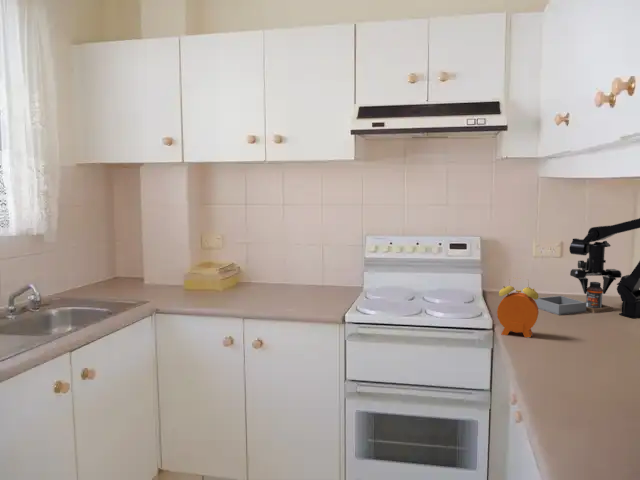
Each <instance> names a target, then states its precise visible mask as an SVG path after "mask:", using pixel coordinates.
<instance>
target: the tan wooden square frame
mask: <svg viewBox="0 0 640 480" xmlns="http://www.w3.org/2000/svg"><path fill="white" fill-rule="evenodd" d="M612 311H614V307H613V306H610V305H607V304H603V303H602V308H596V309H593V308H590V307H586V312H590V313H593V314H596V313H604V312H612Z"/></svg>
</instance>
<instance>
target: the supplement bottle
mask: <svg viewBox="0 0 640 480" xmlns="http://www.w3.org/2000/svg"><path fill="white" fill-rule="evenodd" d="M603 295H604V294H603V287H601V282H599V281H598V282H597V281H590V282H589V286H587V293H586V297H585V298H586V301H585V302H586V303H587V305H586V307H590V308H593V309H596V308H602V304H603Z"/></svg>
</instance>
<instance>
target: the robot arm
mask: <svg viewBox="0 0 640 480" xmlns="http://www.w3.org/2000/svg"><path fill="white" fill-rule="evenodd" d="M637 229H638V230H639V229H640V217H639V218H635V219H632V220H628V221H624V222H620V223H615V224H613V225H599V226H593V227H590V228H589V230H588V231H587V232H588V233H587V234H586V235H585V237H584V238H583V239H580V238H572V242H571V243H570V244H569V253H570V254H571V255H578V256H587V255H588V257H587V258H586V261H584V260H578V261H577V268H572V269H571V270H570V274H569V275H570V277H573V278H575V279H578V281H579V283H580V285H581V288H582V291H583V294H585V295H587V288H588V287H589V286H588V285H589V278H587V277H588V276H592V277H593V276H602V280H603V282H602V283H603V284H602V289H603V294H602V295H605V294H607V291H608V289H609V288H610V287H611V285H612V283H613V282H614V281H616V280H617V279H619V278H620V280H619V282H618V283H616V285H617V286H616V292H617V293H618V295H619V297H620V299H621V302H622V303H621V311H620V312H619V313H618V315H620V316H623V317H627V318H631V319H637V318H640V260H639V261H638V262H637V264H636V266H635V267H634V269H633V270H632V271H631V272H630V274H626V275H624V276H622V275H623V274H622V271H621V270H619V269H615V268H606V269H605V264H606V260H605V254H606V253H605V251H606V248H609V247H611V246H612V245H611V244H610V243H609V242H608V241H607V240H606V239H609V238H611V237H613V236H614V235H616V234H621V233H625V232H628V231H633V230H637Z"/></svg>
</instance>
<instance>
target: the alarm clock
mask: <svg viewBox="0 0 640 480" xmlns="http://www.w3.org/2000/svg"><path fill="white" fill-rule="evenodd" d="M514 279H516V280H520V278H518V277H517V278H516V277H514ZM508 281H509V283H508V284H510V281H511V280H508ZM527 281H528V287H524V288H523V289H522V290H521V289H520V290H519V289H516V290H515V288H514V286H512V285H507V286H505V285H504V286H503V288H501V289H500V290H499V292H498V296H499V297H503V296H504V297H503V298H502V299H501V301H500V303H499V304H498V306H497V309H496V310H497V311H496V314H497V319H498V322H499V323H500V324H501V326H502V327H504V328H503V330H502V332H501V335H502V336H508V335H509V333H510V332H513V333H517V334H518V333H522V334H523V336H524V338H527V337H531V335H532V333H533V331H532V328H533V327H534V325H535V324H536V322H537V320H538V317H539V313H540V312H539V309H538V306H537V304H536V302H535V299H536V300H537V299H538V298H539V293H538V292H537V291H536V290H535V288H534V287H533V288H531V287H529V280H527ZM514 290H515V292H513V291H514ZM532 336H533V335H532Z"/></svg>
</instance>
